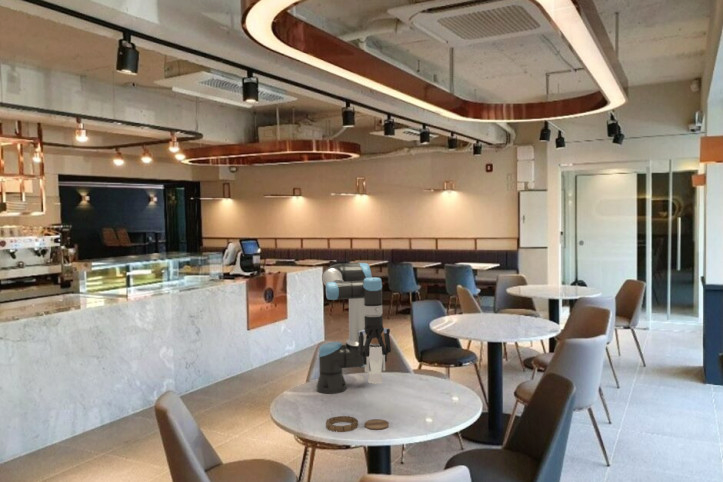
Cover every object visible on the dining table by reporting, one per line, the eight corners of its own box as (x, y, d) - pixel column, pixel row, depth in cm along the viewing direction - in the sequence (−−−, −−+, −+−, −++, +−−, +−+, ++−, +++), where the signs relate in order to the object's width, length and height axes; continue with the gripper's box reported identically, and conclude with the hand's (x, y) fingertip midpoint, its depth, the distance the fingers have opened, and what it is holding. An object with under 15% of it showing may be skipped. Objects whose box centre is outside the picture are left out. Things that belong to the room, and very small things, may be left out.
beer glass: (367, 384, 234) (366, 347, 233) (366, 379, 240) (365, 344, 240) (384, 383, 234) (383, 347, 234) (382, 379, 241) (381, 343, 241)
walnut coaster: (360, 423, 241) (360, 421, 241) (382, 420, 244) (382, 417, 244) (370, 431, 231) (370, 429, 231) (392, 427, 235) (392, 425, 235)
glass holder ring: (322, 423, 242) (321, 419, 242) (350, 418, 247) (350, 414, 247) (332, 433, 230) (332, 428, 230) (362, 428, 235) (362, 423, 235)
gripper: (354, 318, 229) (356, 376, 230) (398, 314, 237) (400, 370, 237) (348, 316, 236) (349, 371, 237) (391, 312, 244) (392, 366, 244)
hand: (374, 370), depth 237 cm, fingers closed on beer glass, 7 cm apart
